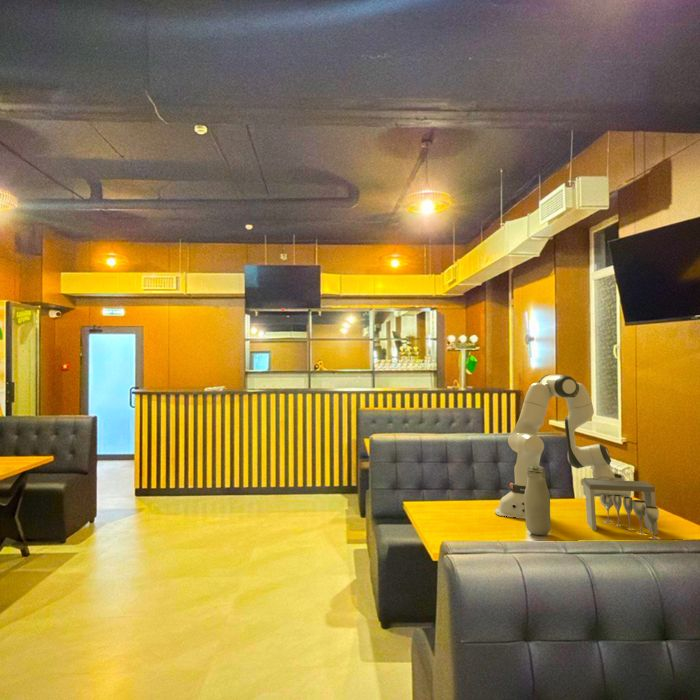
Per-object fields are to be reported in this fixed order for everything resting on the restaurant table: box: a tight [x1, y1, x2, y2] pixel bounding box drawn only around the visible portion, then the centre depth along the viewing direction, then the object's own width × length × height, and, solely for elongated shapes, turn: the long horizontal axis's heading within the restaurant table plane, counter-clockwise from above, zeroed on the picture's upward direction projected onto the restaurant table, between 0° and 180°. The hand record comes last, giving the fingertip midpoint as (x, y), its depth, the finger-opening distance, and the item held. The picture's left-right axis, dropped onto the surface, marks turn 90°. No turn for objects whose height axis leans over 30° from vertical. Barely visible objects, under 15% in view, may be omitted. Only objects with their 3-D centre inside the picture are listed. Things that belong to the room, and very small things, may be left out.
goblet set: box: [599, 494, 661, 540], centre depth 197 cm, size 28×6×13 cm, turn 15°
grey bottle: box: [524, 465, 552, 536], centre depth 193 cm, size 10×10×28 cm
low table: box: [585, 479, 659, 535], centre depth 199 cm, size 24×12×19 cm, turn 73°
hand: (609, 504), depth 217 cm, fingers closed
